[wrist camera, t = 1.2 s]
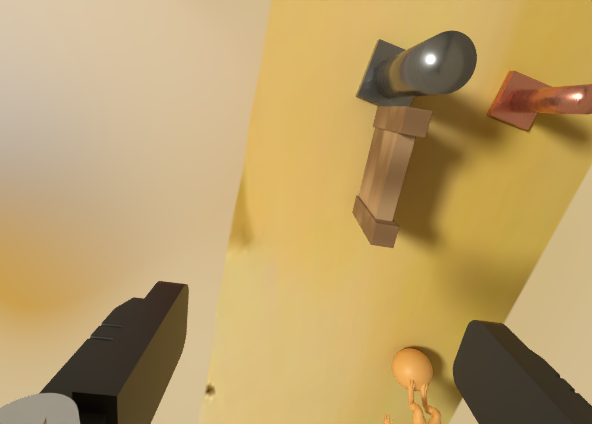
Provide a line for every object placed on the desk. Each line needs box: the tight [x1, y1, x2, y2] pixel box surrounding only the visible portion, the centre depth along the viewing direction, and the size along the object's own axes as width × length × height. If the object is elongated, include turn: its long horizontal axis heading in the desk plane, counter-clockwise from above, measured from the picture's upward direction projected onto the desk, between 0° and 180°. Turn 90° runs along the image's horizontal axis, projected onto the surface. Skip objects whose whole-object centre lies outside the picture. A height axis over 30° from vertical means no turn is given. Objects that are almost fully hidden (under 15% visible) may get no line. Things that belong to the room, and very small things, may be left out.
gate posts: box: [356, 31, 592, 130], centre depth 22 cm, size 6×15×10 cm, turn 70°
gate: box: [353, 106, 433, 248], centre depth 24 cm, size 9×2×7 cm, turn 170°
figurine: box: [383, 348, 441, 424], centre depth 30 cm, size 8×6×12 cm
